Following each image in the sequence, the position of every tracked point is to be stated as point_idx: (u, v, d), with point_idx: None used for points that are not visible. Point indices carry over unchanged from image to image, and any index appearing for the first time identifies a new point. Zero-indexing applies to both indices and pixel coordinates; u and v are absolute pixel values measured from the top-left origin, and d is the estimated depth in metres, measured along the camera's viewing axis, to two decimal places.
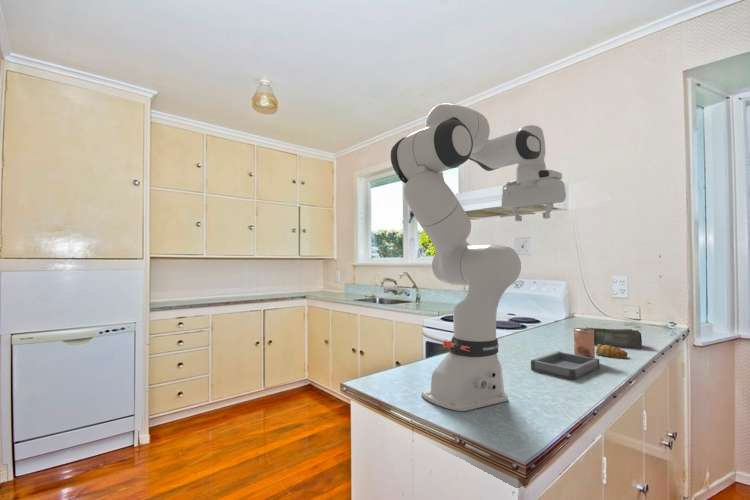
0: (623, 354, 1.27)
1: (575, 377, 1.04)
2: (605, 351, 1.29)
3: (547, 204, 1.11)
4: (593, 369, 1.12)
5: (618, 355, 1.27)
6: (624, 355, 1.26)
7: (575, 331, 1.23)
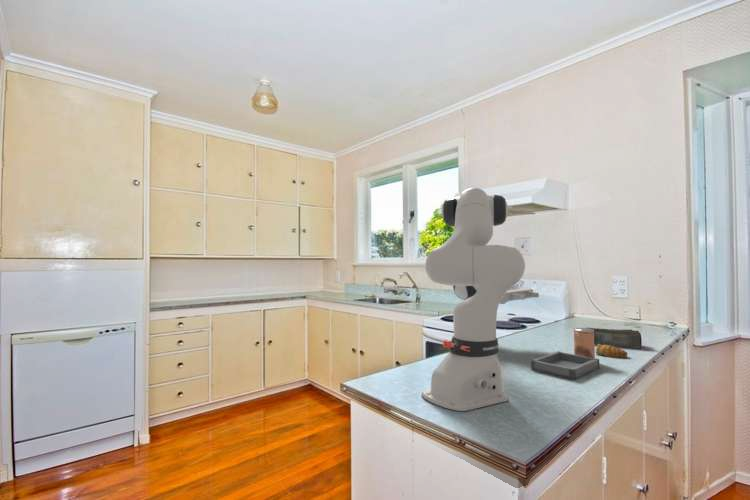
0: (623, 354, 1.27)
1: (575, 377, 1.04)
2: (605, 350, 1.29)
3: (529, 291, 1.45)
4: (593, 369, 1.12)
5: (618, 355, 1.27)
6: (624, 355, 1.27)
7: (575, 331, 1.23)
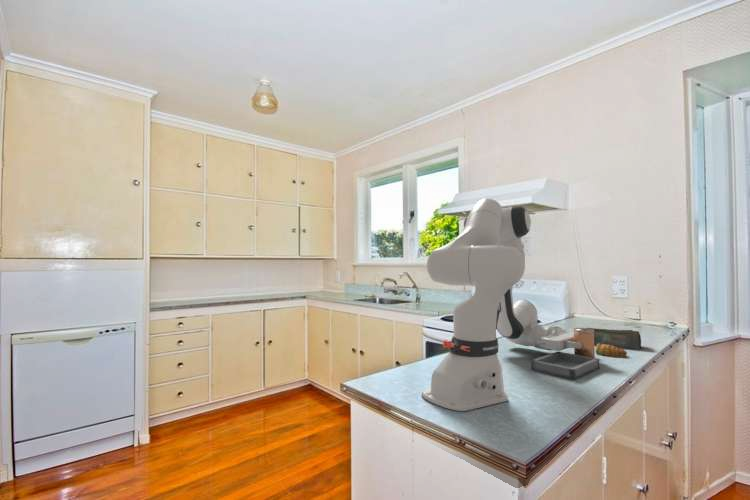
0: (623, 353, 1.28)
1: (575, 377, 1.04)
2: (605, 350, 1.30)
3: None
4: (593, 369, 1.12)
5: (618, 354, 1.28)
6: (624, 354, 1.28)
7: (575, 331, 1.23)
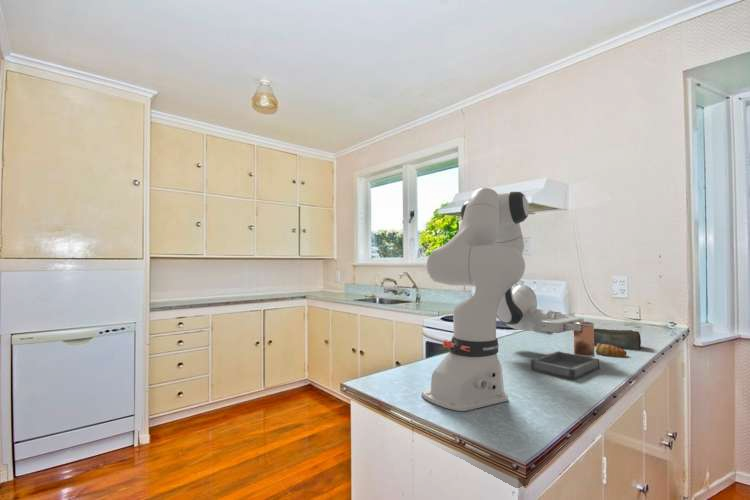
0: (623, 353, 1.28)
1: (575, 377, 1.04)
2: (605, 350, 1.31)
3: None
4: (593, 369, 1.12)
5: (618, 354, 1.29)
6: (624, 354, 1.28)
7: (575, 324, 1.23)
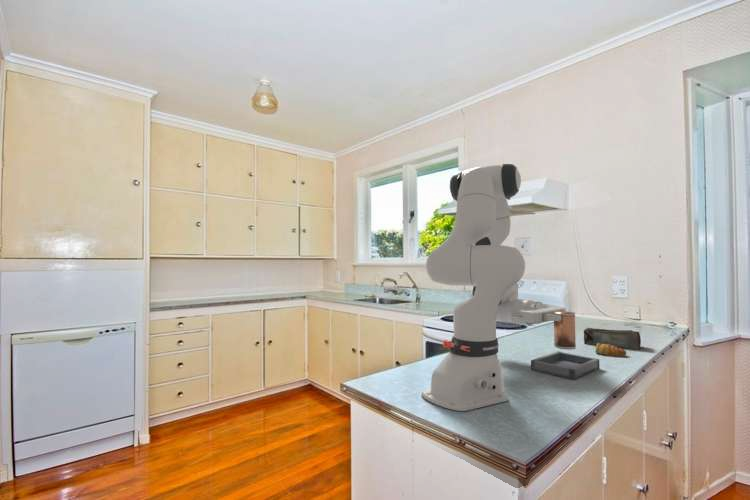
0: (622, 352, 1.29)
1: (575, 377, 1.04)
2: (605, 350, 1.31)
3: None
4: (593, 369, 1.12)
5: (618, 354, 1.29)
6: (623, 353, 1.29)
7: (555, 314, 1.15)
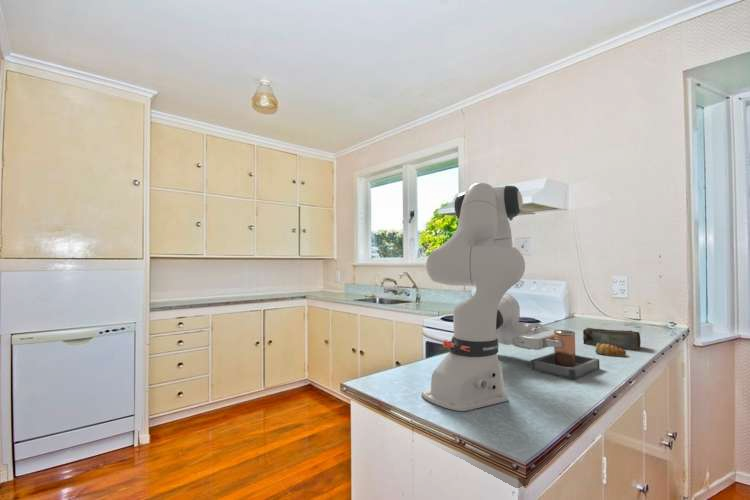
0: (622, 352, 1.29)
1: (575, 377, 1.04)
2: (605, 349, 1.31)
3: None
4: (593, 369, 1.12)
5: (618, 353, 1.29)
6: (623, 353, 1.29)
7: (555, 333, 1.15)
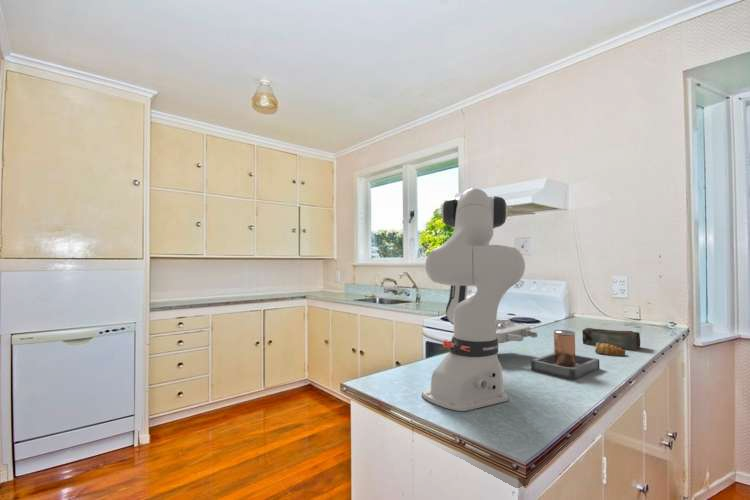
0: (622, 352, 1.30)
1: (575, 377, 1.04)
2: (605, 349, 1.32)
3: (526, 330, 1.31)
4: (593, 369, 1.12)
5: (617, 353, 1.30)
6: (623, 353, 1.30)
7: (555, 333, 1.15)
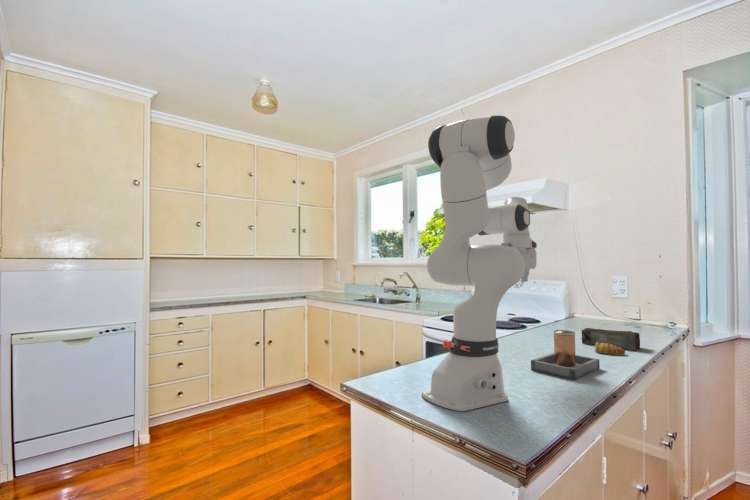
0: (622, 351, 1.31)
1: (575, 377, 1.04)
2: (605, 349, 1.32)
3: (528, 270, 1.31)
4: (593, 369, 1.12)
5: (617, 352, 1.31)
6: (623, 352, 1.31)
7: (555, 333, 1.15)
